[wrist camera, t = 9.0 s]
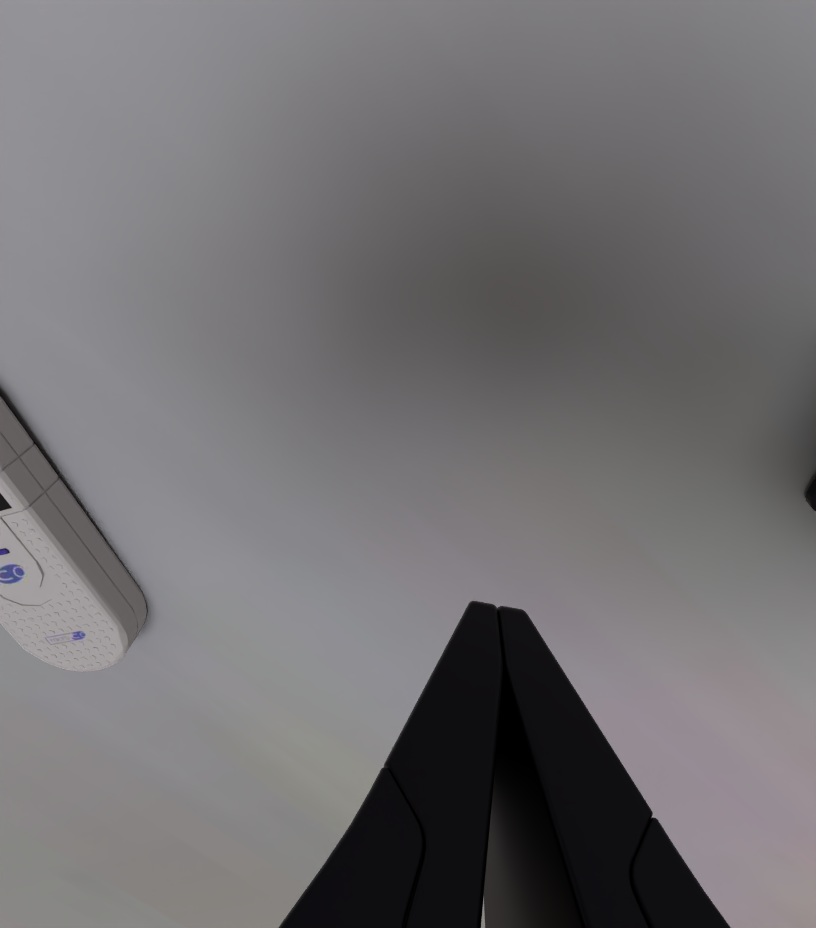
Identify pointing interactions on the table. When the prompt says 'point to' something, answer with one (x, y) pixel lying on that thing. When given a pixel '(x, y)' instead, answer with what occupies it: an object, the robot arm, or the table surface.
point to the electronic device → (58, 566)
